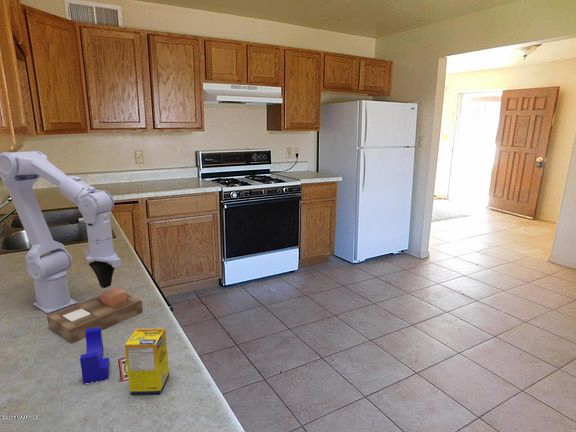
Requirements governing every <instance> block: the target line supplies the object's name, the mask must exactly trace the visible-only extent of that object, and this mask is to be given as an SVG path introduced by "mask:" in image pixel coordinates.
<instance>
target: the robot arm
mask: <svg viewBox="0 0 576 432" xmlns="http://www.w3.org/2000/svg"><path fill="white" fill-rule="evenodd" d="M0 178H1V181H2V184H3V185H4V187H6V189H7V191H8V194H9V196H10V198H11V201H12V203H13V206H14V208H15V210H16V212H17V215H18V217H19V221H20V222H21V225H22V227H23V229H24V231H25V234H26V236H27V239H28V241H29V243H30V246H31V248H30V249H29V250H28V252H27V253H26V254H25V256H24V259H25V262H26V270H27V273H28V274H29V276H30V277H31V278H32V279H33V280H34V282H33V287H34V292H35V299H36V301H35V302H33V303H32V305H33V306H35V307H36V308H38V309H40V310H41V311H42V312H44V313H46V314H52V313H55V312H57V311H60V310H63V309H66V308H69V307H71V306H74V305H77V303H78V301H76V300H75V299H73V298H71V293H70V288H69V287H70V286H69V281H68V273H70V270H69V269H71V267H72V265H73V259H72V256H71V253H69V252H68V250H67V248H66V247H65V245H64V244H63V243H61V242H59V241H56V240H54V239H53V236H52V233H51V231H50V229H49V226H48V224H47V222H46V219H45V217H44V214H43V212H42V210H41V207H40V205H39V203H38V199H37V197H36V195H35V192H34V190H33V186H34V184H36V182H38V181H39V180H40V179H41V178H42V179H44V180H46V181H47V182H49V183H51V184H53V185H54V186H56V187H58V190H59V194H61V196H64V197H65V198H66V199H68V200H69V201H71V202H73V203H74V204H76V205H77V207H78V208H77V209H78V211H79V212H80V214H81V215H82V219H83V221H84V223H85V226H86V233H87V234H86V235H87V241H88V248H87V249H84V255H85V261H88V262H89V263H88V266H89V267H90V268H91V269H92V271H93V273H94V274H95V276H96V279H97V280H98V283H99V286H100V287H101V288H102V289H106V288H109V287H111V285H112V280H113V275H114V271H115V269H116V268H118V267H121V266H122V259H121V258H120V257H118V255H117V253H116V252H115V250H114V249H115V248H114V239H113V230H112V222H111V211H112V210H113V209H114V206H115V201H114V198H113V196H112V195H111V193H109V191H108V190H105V189H103V190H101V189H100V190H99V189H96V188H95V187H94V186H91V185H90V184H88V183H86V182H85V181H84V180H82V178H81V177H80V176H75V175H72V176H71V175H70V176H68V175H67V174H66V173H64V172H63V171H62V170H60V169H59V168H58V167H56V165H54V164H53V163H51V162H50V160H49V158H48V156H47V155H46V154H44V153H43V152H41V151H39V150H32V151H16V152H15V151H14V152H7V151H5V152H4V151H3V152H1V153H0ZM91 261H92V262H91Z"/></svg>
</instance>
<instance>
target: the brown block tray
mask: <svg viewBox="0 0 576 432" xmlns="http://www.w3.org/2000/svg"><path fill="white" fill-rule="evenodd" d="M142 302H143V301H142V300H141V299H139V298H136V297H134V296H132V295H130V294H128V293H127V301H125V302H123V303H120V304H118V305H115V306H113V307H108V306H106V305H104V304H102V303H101V297H100V295H99V296H97V297H94V298H91V299H89V300H86V301H83V302H81V303H78V304H77V303H76V304H73V305H71V306H68V307H65V308H62V309H60V310H57V311H54V312H51V313H49V314H47V315H46V317H47V318H46V319H47V324H48V328H49V329H50V330H51V331H53V332H54V333H56V334H57V335H59V336H60V337H62V338H63V339H64V340H66V341H67V342H69V343H71V344H73V343H76V342H77V341H80V340H83V339H86V334H85V332H86V329H92V328H97V327H101V331H103V330H105V329H108V328H110V327H113V326H114V325H117V324H119V323H121V322H123V321H126V320H128V319H130V318H133V317H135V316H137V315H140V314H142V313H143V303H142ZM79 309H84V310H85V311H87V312H89V313H91V315H90V316H87V317H85V318H82V319H80V320H77V321H74V322H72V323H70V322H68V321H67V320H65V319H63V317H62V316H63V315H66V314H68V313H71V312H74V311H76V310H79Z"/></svg>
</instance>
